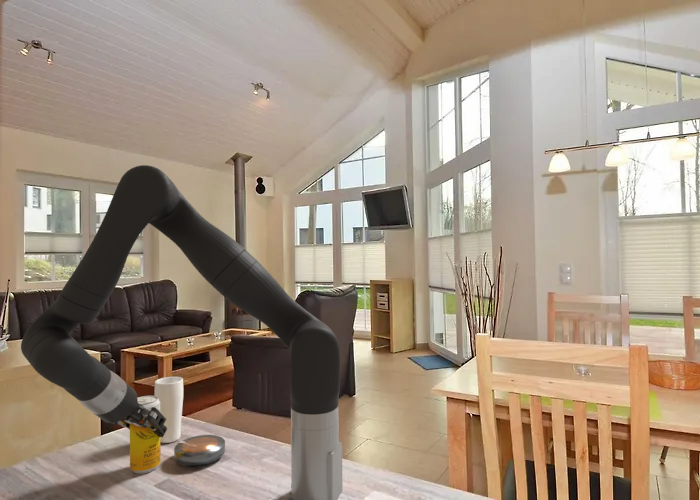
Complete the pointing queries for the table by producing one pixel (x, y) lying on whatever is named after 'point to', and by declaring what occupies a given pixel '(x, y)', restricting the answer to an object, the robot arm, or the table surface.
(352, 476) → the table surface
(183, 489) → the table surface
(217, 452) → the disc
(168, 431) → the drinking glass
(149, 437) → the beer can
